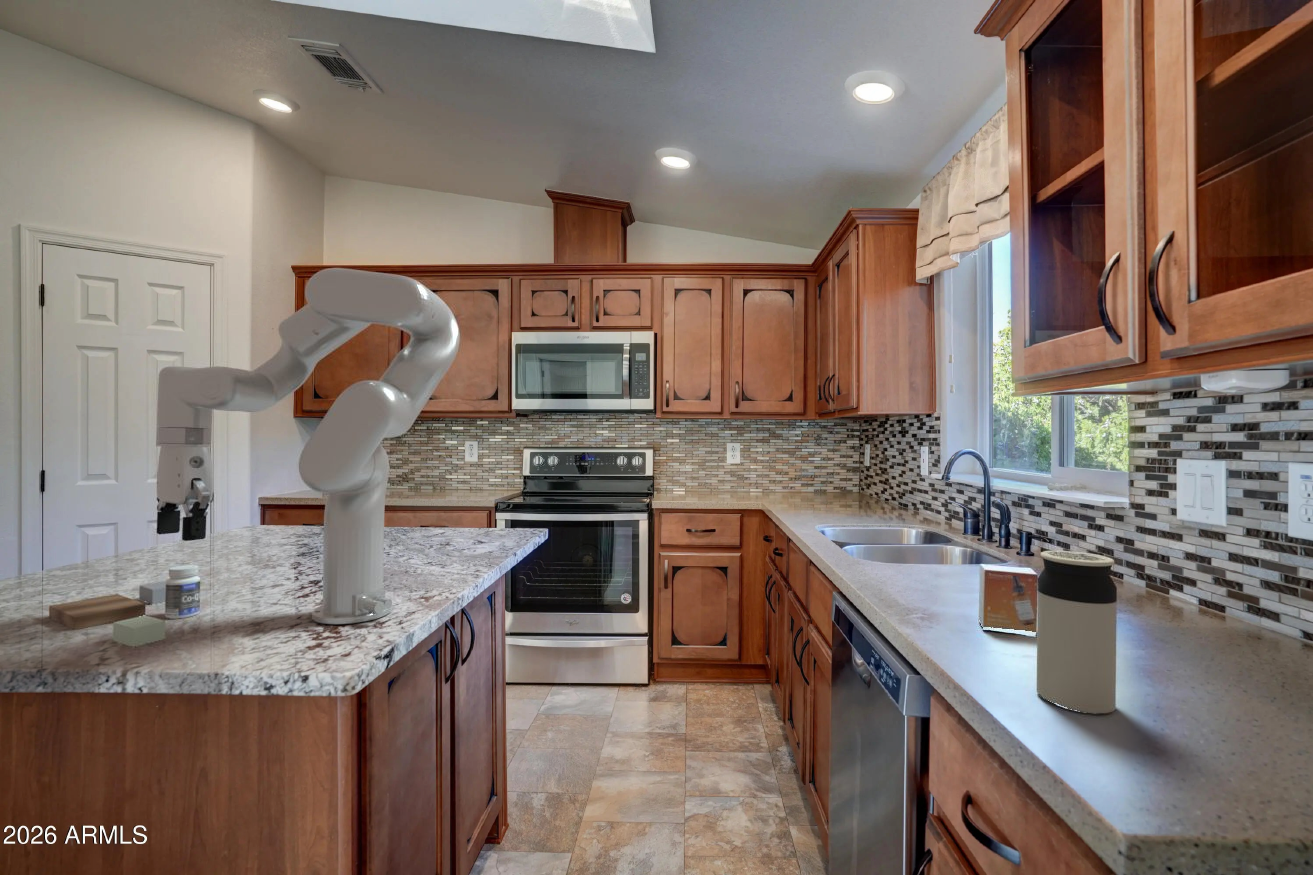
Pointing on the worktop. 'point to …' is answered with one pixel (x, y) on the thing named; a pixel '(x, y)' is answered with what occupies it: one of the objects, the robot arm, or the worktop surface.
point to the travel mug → (1077, 631)
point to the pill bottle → (182, 592)
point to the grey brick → (153, 592)
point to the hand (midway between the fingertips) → (180, 536)
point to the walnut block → (96, 611)
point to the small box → (1008, 597)
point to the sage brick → (139, 630)
